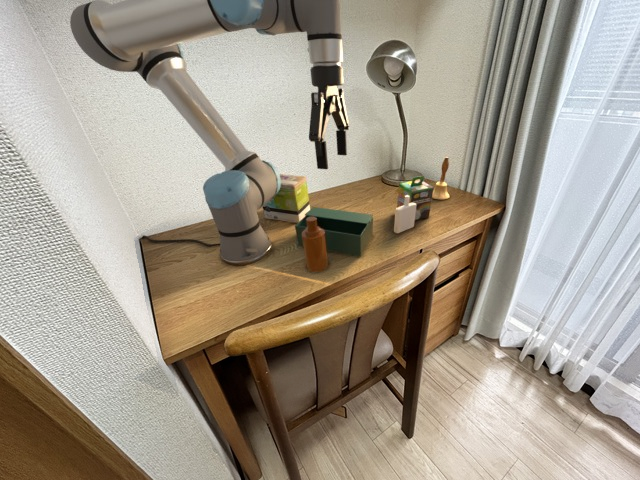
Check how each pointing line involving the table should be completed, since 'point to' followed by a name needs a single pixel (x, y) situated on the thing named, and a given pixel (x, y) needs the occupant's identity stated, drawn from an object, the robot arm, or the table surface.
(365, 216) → the flap
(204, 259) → the table surface
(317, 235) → the amber bottle
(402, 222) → the perfume bottle
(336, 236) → the carton
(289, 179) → the tea box
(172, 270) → the table surface
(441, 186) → the hand bell
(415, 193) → the chalk box
